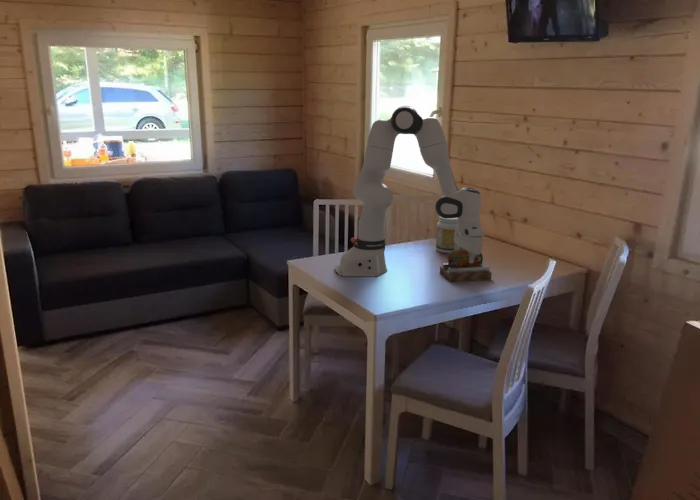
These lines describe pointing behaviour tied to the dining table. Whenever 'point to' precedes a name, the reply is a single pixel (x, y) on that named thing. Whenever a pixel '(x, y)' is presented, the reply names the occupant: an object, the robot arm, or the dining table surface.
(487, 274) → the dock
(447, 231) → the supplement tub
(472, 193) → the robot arm
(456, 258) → the tin
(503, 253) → the dining table surface
